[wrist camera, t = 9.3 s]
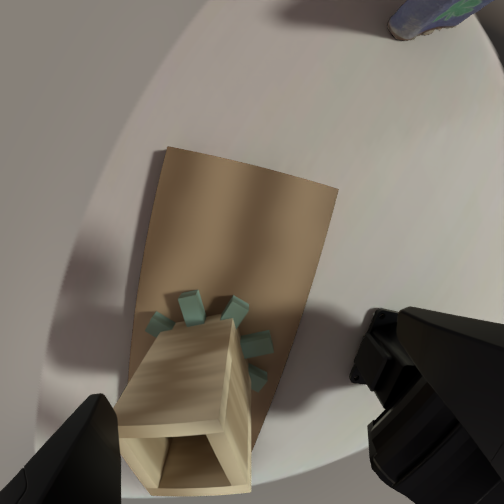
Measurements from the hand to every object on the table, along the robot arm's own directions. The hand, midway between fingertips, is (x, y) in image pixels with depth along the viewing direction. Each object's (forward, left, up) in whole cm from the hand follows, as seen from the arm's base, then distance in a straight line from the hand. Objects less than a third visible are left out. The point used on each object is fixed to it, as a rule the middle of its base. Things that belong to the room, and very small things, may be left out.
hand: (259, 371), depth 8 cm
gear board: (+2, +6, -14) cm, 15 cm away
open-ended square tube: (+2, +7, -12) cm, 14 cm away
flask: (-9, -24, -14) cm, 29 cm away
